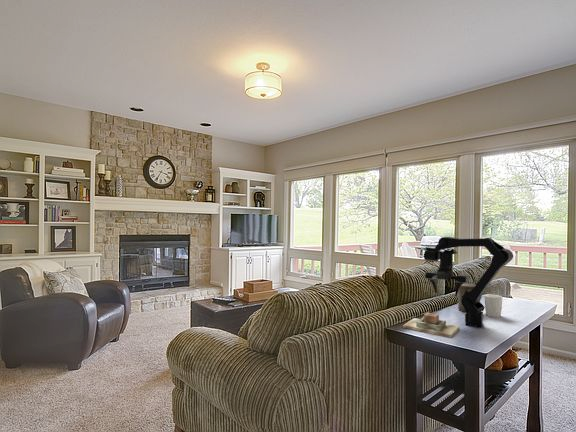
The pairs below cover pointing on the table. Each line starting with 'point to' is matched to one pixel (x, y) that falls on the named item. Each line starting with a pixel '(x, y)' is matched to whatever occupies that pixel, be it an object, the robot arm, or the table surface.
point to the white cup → (493, 305)
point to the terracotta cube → (431, 318)
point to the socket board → (432, 327)
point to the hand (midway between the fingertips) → (446, 294)
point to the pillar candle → (461, 293)
